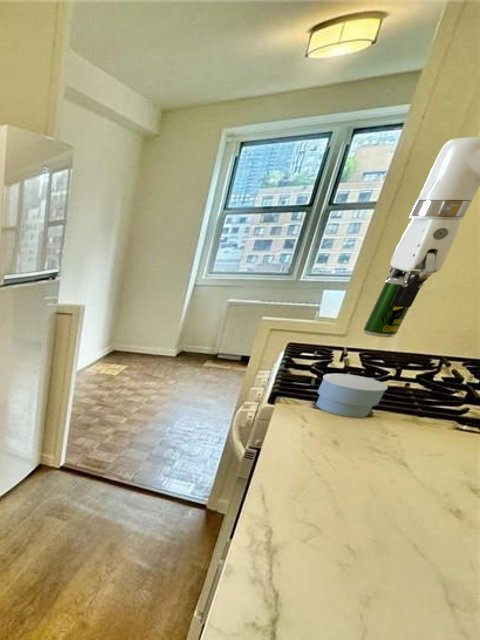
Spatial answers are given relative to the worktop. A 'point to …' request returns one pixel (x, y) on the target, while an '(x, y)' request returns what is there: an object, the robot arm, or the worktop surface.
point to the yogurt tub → (349, 394)
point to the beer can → (386, 311)
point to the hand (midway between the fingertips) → (393, 303)
